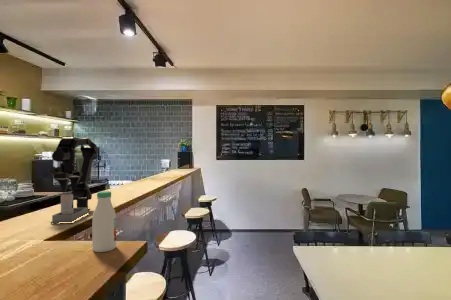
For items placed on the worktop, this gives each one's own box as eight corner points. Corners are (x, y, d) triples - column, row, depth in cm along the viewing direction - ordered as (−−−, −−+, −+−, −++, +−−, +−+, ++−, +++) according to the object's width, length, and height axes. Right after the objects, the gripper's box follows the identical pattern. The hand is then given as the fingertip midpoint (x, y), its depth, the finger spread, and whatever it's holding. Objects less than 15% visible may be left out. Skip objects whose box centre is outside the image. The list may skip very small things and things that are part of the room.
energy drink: (74, 217, 142) (74, 193, 142) (72, 219, 137) (72, 195, 137) (62, 218, 140) (61, 194, 140) (59, 220, 135) (59, 195, 135)
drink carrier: (70, 215, 151) (70, 207, 151) (89, 214, 151) (89, 207, 151) (50, 224, 133) (50, 215, 133) (72, 223, 133) (72, 215, 133)
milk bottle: (110, 252, 96) (110, 193, 96) (88, 252, 96) (87, 193, 96) (119, 245, 104) (119, 190, 104) (98, 245, 104) (98, 190, 104)
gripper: (62, 161, 157) (62, 189, 157) (42, 161, 139) (41, 193, 138) (82, 160, 158) (82, 189, 157) (65, 161, 139) (65, 193, 139)
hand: (68, 191), depth 148 cm, fingers open, 9 cm apart
